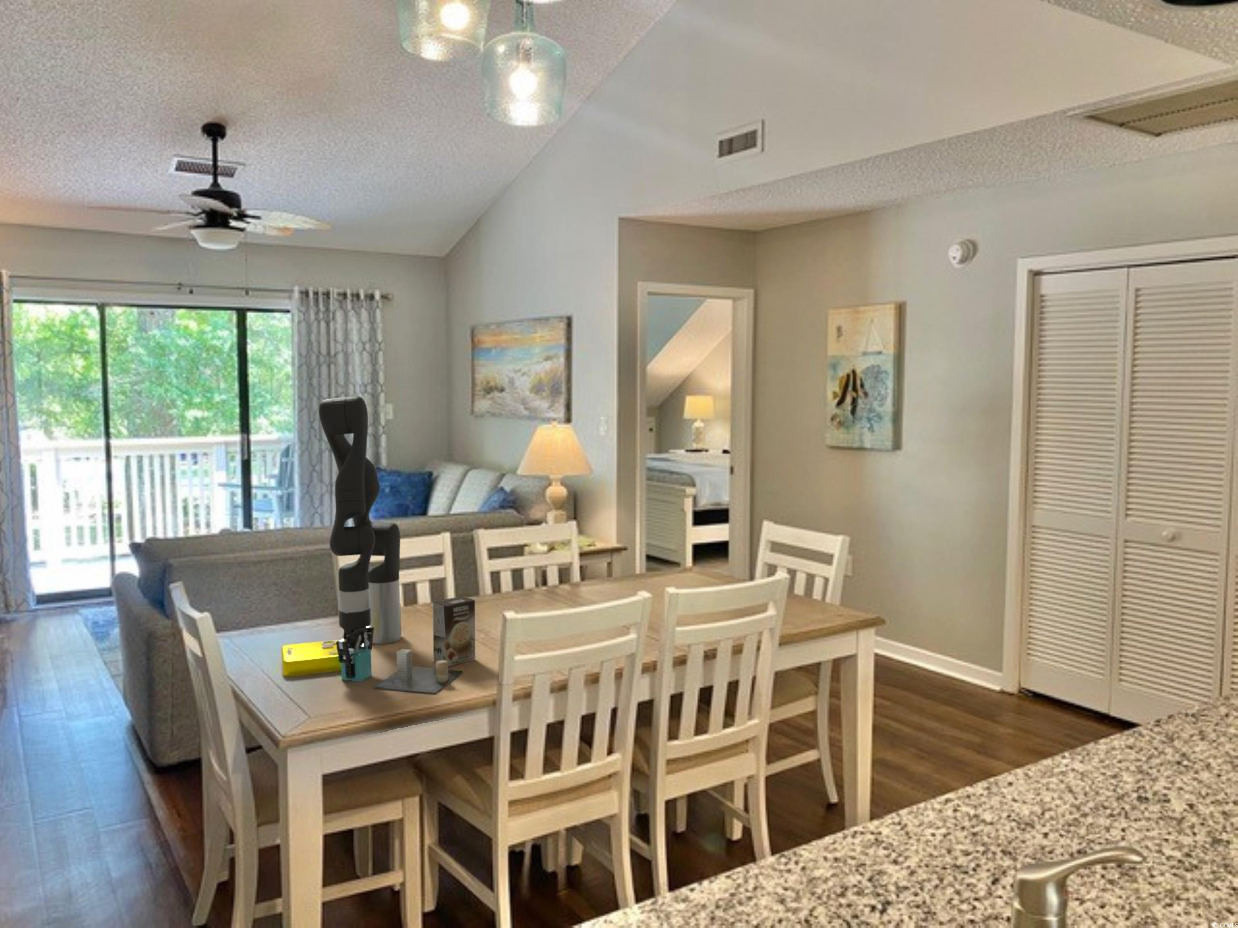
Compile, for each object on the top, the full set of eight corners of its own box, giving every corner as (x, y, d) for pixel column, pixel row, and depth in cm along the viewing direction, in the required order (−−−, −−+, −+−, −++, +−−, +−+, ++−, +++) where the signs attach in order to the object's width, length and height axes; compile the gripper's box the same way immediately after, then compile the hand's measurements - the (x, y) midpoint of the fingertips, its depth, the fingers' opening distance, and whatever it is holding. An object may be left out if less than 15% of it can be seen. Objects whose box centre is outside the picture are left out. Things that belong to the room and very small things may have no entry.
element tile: (281, 660, 239) (281, 643, 239) (341, 654, 245) (340, 637, 244) (282, 678, 225) (282, 660, 225) (345, 671, 231) (345, 653, 230)
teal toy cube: (352, 672, 228) (352, 647, 228) (371, 674, 227) (370, 648, 226) (341, 679, 223) (340, 653, 223) (360, 681, 222) (359, 655, 221)
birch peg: (439, 679, 223) (439, 659, 223) (449, 680, 223) (449, 660, 222) (434, 683, 221) (433, 663, 220) (445, 684, 220) (444, 664, 220)
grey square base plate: (405, 667, 233) (404, 640, 232) (463, 672, 229) (462, 645, 228) (373, 688, 218) (372, 659, 217) (435, 694, 214) (434, 665, 213)
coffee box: (446, 667, 233) (445, 606, 231) (432, 661, 237) (431, 601, 236) (476, 659, 239) (475, 599, 237) (462, 654, 244) (461, 595, 242)
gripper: (356, 598, 231) (358, 663, 233) (324, 613, 217) (326, 682, 219) (382, 600, 229) (384, 666, 231) (352, 615, 216) (354, 685, 217)
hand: (356, 673), depth 225 cm, fingers closed on teal toy cube, 5 cm apart
